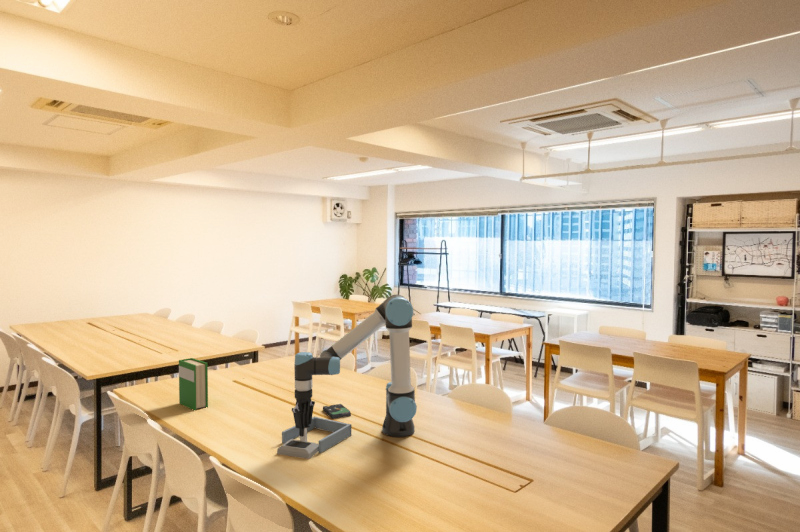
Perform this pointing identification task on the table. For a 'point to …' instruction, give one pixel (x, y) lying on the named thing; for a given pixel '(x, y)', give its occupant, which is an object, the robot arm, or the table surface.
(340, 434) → the open u-shaped frame
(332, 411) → the disk drive
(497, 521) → the table surface
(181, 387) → the hardback book
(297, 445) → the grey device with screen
